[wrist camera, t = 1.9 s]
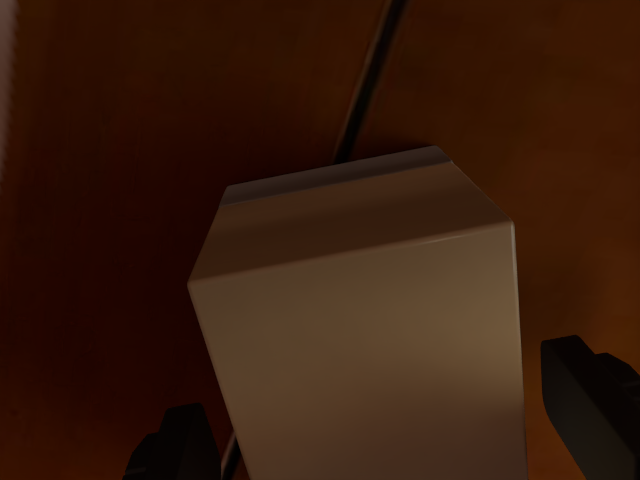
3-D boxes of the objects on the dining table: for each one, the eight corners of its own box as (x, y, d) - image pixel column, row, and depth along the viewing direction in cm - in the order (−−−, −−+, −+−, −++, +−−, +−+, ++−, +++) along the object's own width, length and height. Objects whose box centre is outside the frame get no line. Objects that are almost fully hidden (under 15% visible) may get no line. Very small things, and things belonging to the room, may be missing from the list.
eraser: (226, 185, 13) (183, 283, 8) (436, 144, 12) (516, 220, 8) (309, 492, 17) (312, 677, 12) (471, 465, 16) (538, 642, 12)
